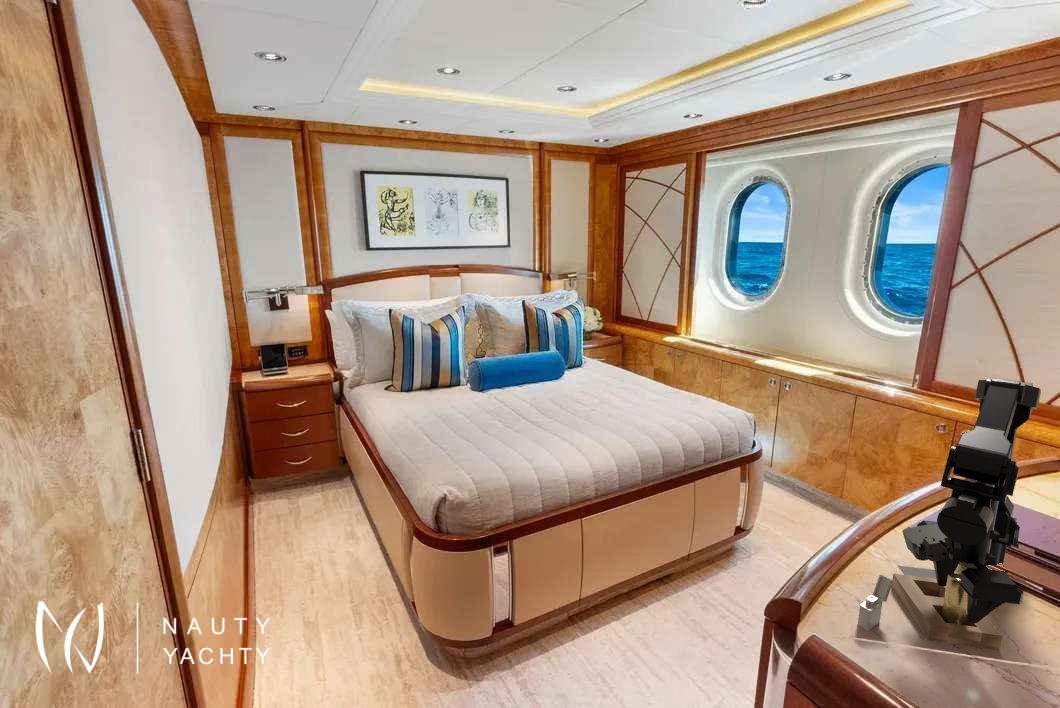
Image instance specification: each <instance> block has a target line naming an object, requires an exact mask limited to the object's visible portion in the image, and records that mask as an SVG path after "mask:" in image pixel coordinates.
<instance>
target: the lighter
mask: <svg viewBox="0 0 1060 708" xmlns="http://www.w3.org/2000/svg"><path fill="white" fill-rule="evenodd" d="M876 581H877V582H876V584H875V586H874V590H873V592H872V594H871V595H869V596H867V597H866V598H865V600H864V601H863V602H861V603H860V604H859V610H858V611H859V612H858V618H857V626H858V627H860V628H861V629H863V630H865V631H867V632H869V631H870V630H872V629H873V628H874V627H876V626H877V625H878V624H880V623H881V615H882V608H883V602H884V603H885V602H887V600H888V597H889V595H890V592H891V589H892V584H893V579H892V577H891V578H890V577H888V576H886V575H884V574H879V575H878V578H877V580H876Z"/></svg>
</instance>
